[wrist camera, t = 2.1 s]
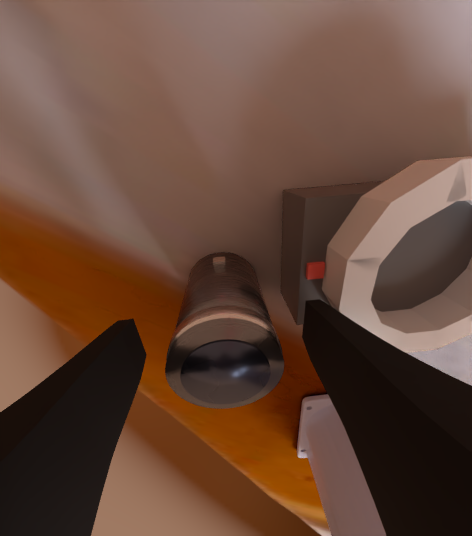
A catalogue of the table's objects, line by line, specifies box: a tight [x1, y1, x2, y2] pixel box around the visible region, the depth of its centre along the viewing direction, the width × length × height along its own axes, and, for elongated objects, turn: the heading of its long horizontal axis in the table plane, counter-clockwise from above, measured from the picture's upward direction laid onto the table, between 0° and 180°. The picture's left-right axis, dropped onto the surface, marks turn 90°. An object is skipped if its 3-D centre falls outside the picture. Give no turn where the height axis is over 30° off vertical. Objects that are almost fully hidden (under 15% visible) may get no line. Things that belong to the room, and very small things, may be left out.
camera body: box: [281, 156, 472, 353], centre depth 10 cm, size 8×11×4 cm
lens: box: [165, 252, 284, 408], centre depth 10 cm, size 4×4×6 cm
